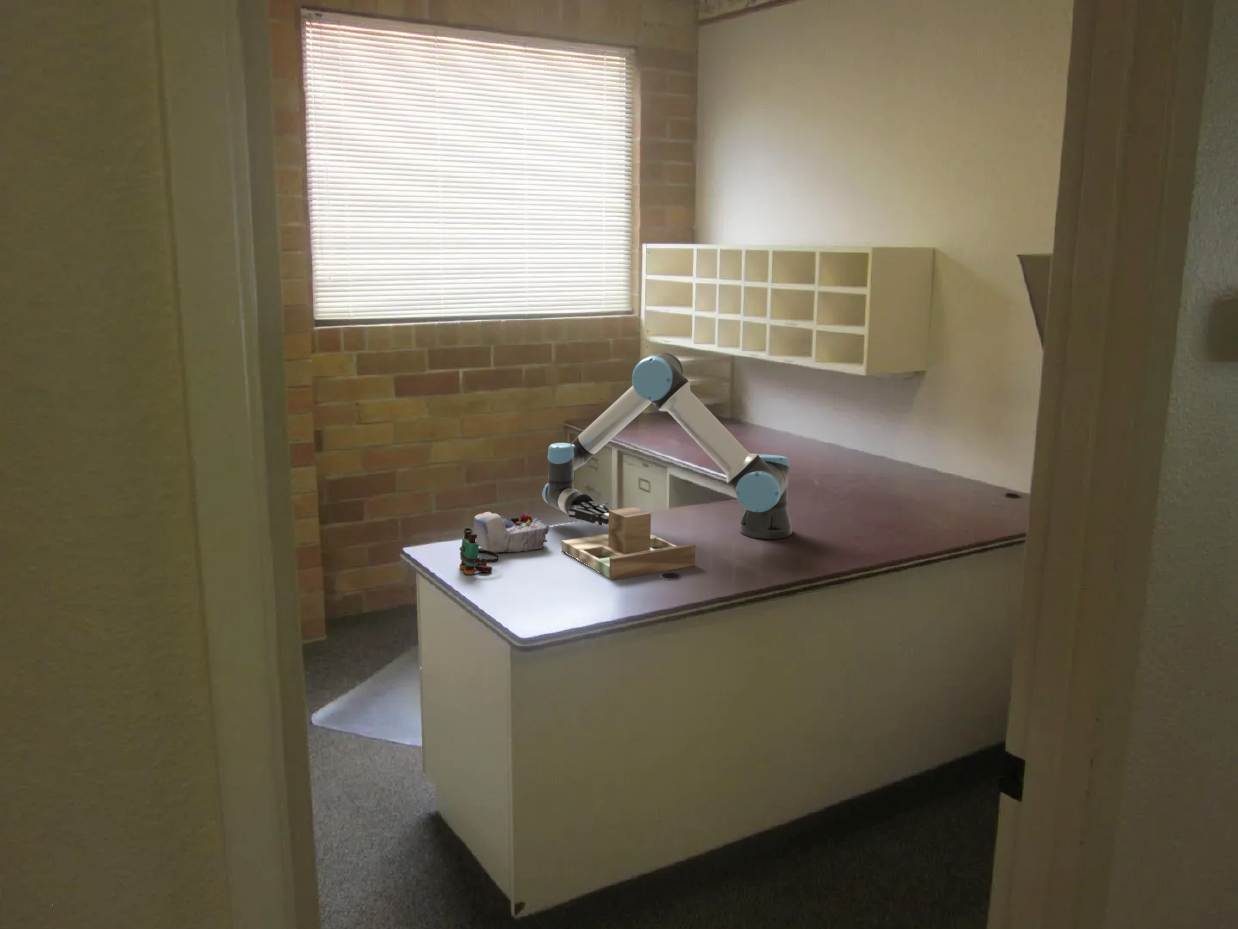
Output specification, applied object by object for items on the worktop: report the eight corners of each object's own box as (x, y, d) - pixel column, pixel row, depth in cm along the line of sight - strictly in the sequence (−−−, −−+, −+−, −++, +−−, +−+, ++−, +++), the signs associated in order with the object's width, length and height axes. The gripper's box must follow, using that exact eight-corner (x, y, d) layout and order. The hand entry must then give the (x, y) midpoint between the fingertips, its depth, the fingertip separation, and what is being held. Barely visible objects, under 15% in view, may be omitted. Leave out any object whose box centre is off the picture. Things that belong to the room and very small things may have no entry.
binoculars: (504, 535, 252) (465, 535, 248) (500, 575, 254) (462, 576, 250) (494, 526, 260) (456, 526, 256) (490, 565, 262) (453, 566, 258)
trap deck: (561, 551, 273) (561, 531, 271) (639, 538, 285) (639, 520, 284) (612, 580, 250) (612, 559, 248) (695, 565, 262) (695, 545, 261)
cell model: (468, 509, 273) (533, 501, 284) (468, 547, 275) (532, 538, 286) (489, 520, 262) (555, 511, 273) (489, 559, 264) (555, 549, 275)
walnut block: (608, 546, 267) (608, 510, 265) (633, 542, 271) (633, 506, 269) (625, 554, 260) (625, 517, 258) (650, 549, 265) (650, 513, 263)
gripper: (595, 513, 292) (638, 534, 272) (555, 519, 285) (596, 540, 265) (596, 488, 290) (638, 507, 270) (555, 493, 283) (596, 513, 264)
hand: (617, 523), depth 268 cm, fingers closed
